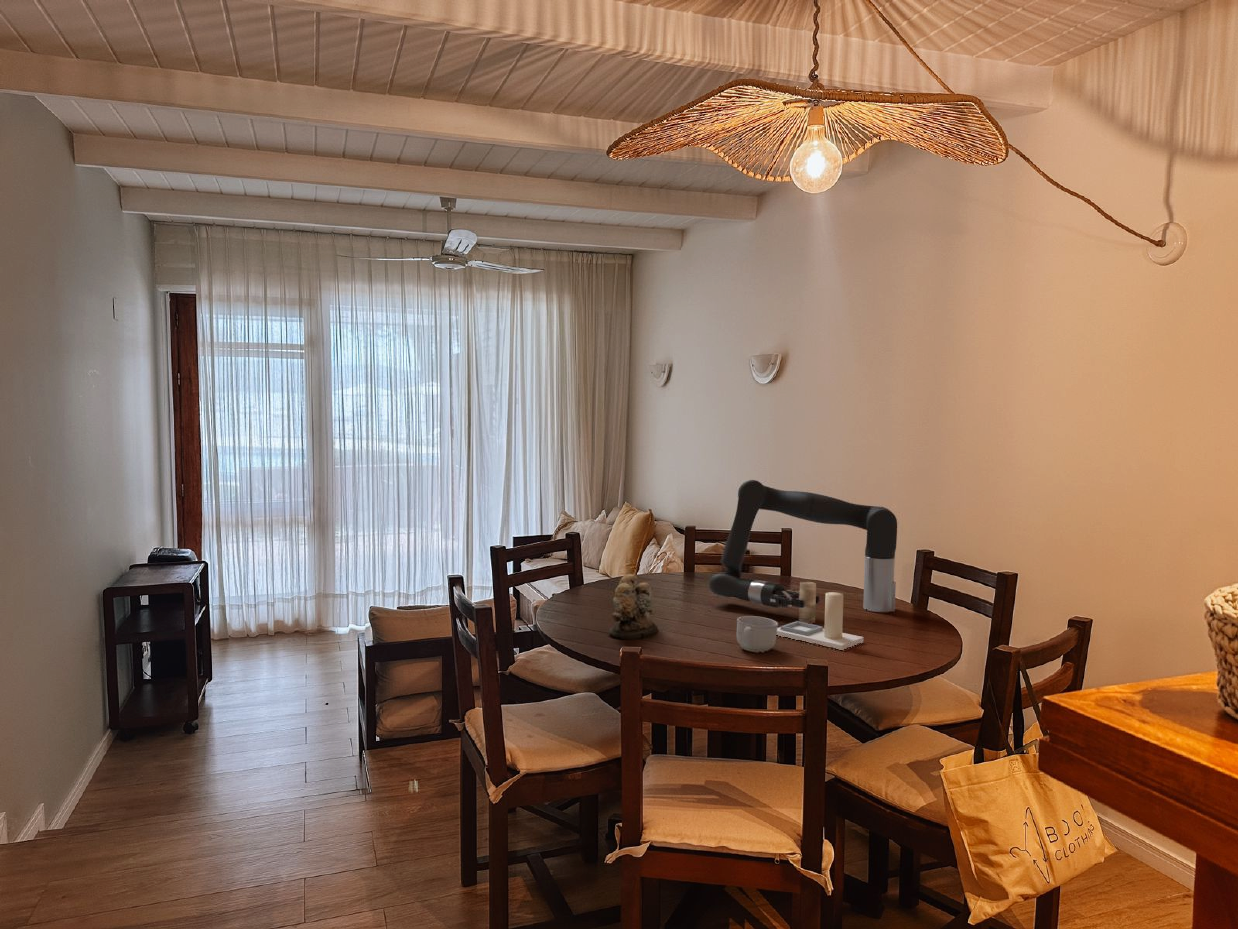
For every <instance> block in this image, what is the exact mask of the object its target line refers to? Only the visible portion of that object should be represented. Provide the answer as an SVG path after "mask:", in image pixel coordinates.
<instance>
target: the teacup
mask: <svg viewBox="0 0 1238 929" xmlns="http://www.w3.org/2000/svg"><path fill="white" fill-rule="evenodd" d="M736 623H737V624H736V641H737V643H738V644H739V646H741V647H742V649H743V650H744V651H748V652H751V653H752V652H753V653H759V652H761V653H766V652H765V651H767V652H768V651H769V650H771V649H773V648H774V647H775V644H776V642H777V636H776V635H777V628H778V626H779V623H778V622H777V621H776V620H774V619H772V618H768V617H763V616H757V615H756V616H755V615H743V616H740V617H737V618H736Z"/></svg>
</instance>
